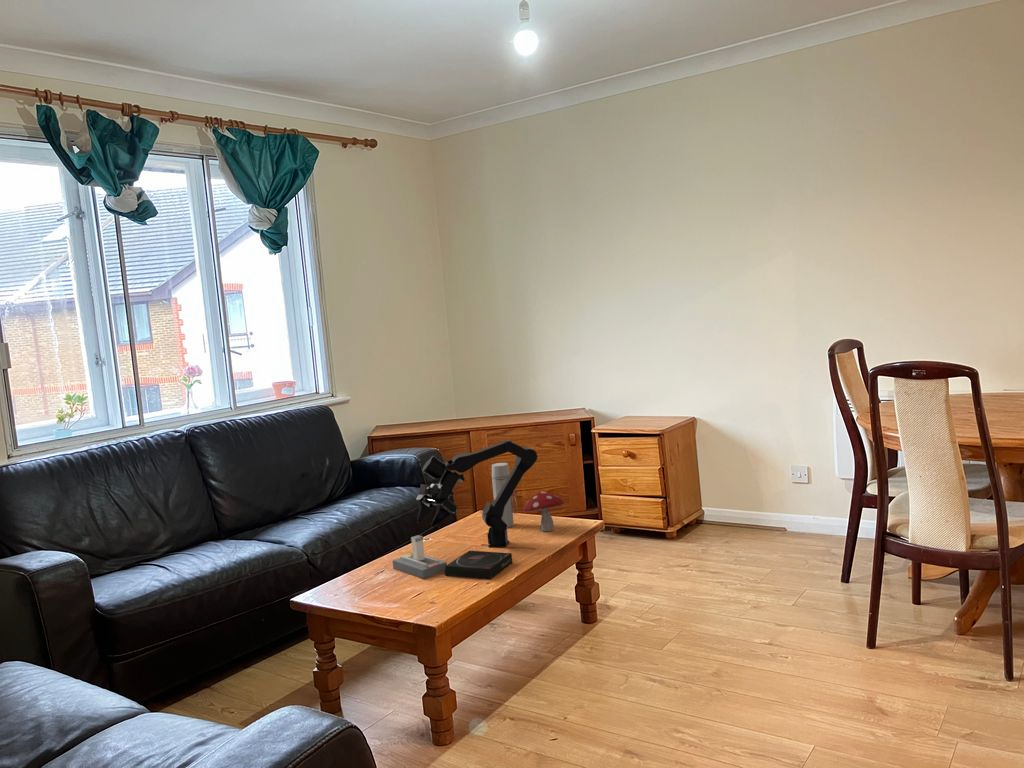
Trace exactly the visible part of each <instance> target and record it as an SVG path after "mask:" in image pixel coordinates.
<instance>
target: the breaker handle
mask: <svg viewBox="0 0 1024 768" xmlns="http://www.w3.org/2000/svg"><path fill="white" fill-rule="evenodd" d="M410 541H411V548H412V549H411V550H412V553H413V559H414V560H417V561H421V560H424V559H425V556H424V555H425V548H424V547H425V545H424V536H423V535H419V534H417V535H415V536H411V537H410Z"/></svg>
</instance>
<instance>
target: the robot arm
mask: <svg viewBox="0 0 1024 768" xmlns="http://www.w3.org/2000/svg"><path fill="white" fill-rule="evenodd" d="M506 453H510V454H512V455H514V456H516V459H515V462H514V466H513V468H512V470H511V472H509V473H510V475H509V477H508V478H507V480H506V482H505V483H504V485H503V487H502V489H501V490H500V492H499V494H498V495H497V497H496V499H495V500H494V499H493V501H491V502H490V501H487V502H486V504H485V507H484V508H483V509H482V510H481V511H482V514H481V517H482V520H483V522H484V523H485V524H486V525H487V526H488V527H489V528H488V530H487V531H488V532H487V533H486V534H487V535H486V536H487V545H488V548H505V547H507V545H508V544H509V543H510V540H509V539H508V538H509V537H508V528H507V524H506V523H505V522H504V521H503V519H502V516H503V512H504V508H505V505H506V503H507V502H508V500H509V498H510V497H511V498H512V494H514V493H515V491H516V488H517V487H518V484H519V483H520V481H521V479H522V478H523V476H524V475H525V473H526V472H527V471H529V469H532V467H533V466H534V464H535V463H536V462H537V460H538V453H537V451H536V450H534V449H533V448H531V446H521V445H518V444H517V443H514V442H512V441H511V440H510V439H505V440H503V441H501V442H498V443H495V444H493V445H490V446H487V447H485V448H482V449H479V450H477V451H473V452H465V453H459V454H455V455H454V456H452V459H449V460H447V461H443V462H442V461H441V460H440V459H438V458H437V457H436V456H434V455H432V456H431V457H430V458H429V459H428V460H427V461H426V462H425V464H424V465H423V467H422V469H421V471H422V473H424V474H426V475H428V476H429V477H431V478H432V479H434V480H437V479H440V480H439V481H438V483H431V484H430V485H427V484H422V483H420V487H419V491H418V493H419V494H417V497H416V498H415V500H416V502H417V504H418V507H419V509H418V513H417V514H418V515H417V518H416V523H418V524H420V523H421V522H422V521H423V520H424V519H425V518H426V517H427V516H428V515H429V514H430V513H431V512H432V511H433V508H434V507H435V506H436V512H435V515H433V516H434V517H433V518H432V521H431V524H430V526H431V527H435V526H437V525H438V524H439V523H441V522H442V521H443V520H445V519H446V518H447V517H450V516H452V515H453V514H456V512H457V510H458V505H457V504H456V503H454V502H453V501H452V500H450V499H449V498H450V496H454V492H453V491H454V489H455V488H456V486H457V483H458V482H460V483H461V482H465V481H466V479H465V477H464V473H465V472H468V471H469V470H470V469H472V468H473V467H475V466H476V465H477V464H480V463H482V462H484V461H487V460H490V459H492V458H495V457H497V456H500V455H503V454H506Z"/></svg>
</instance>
